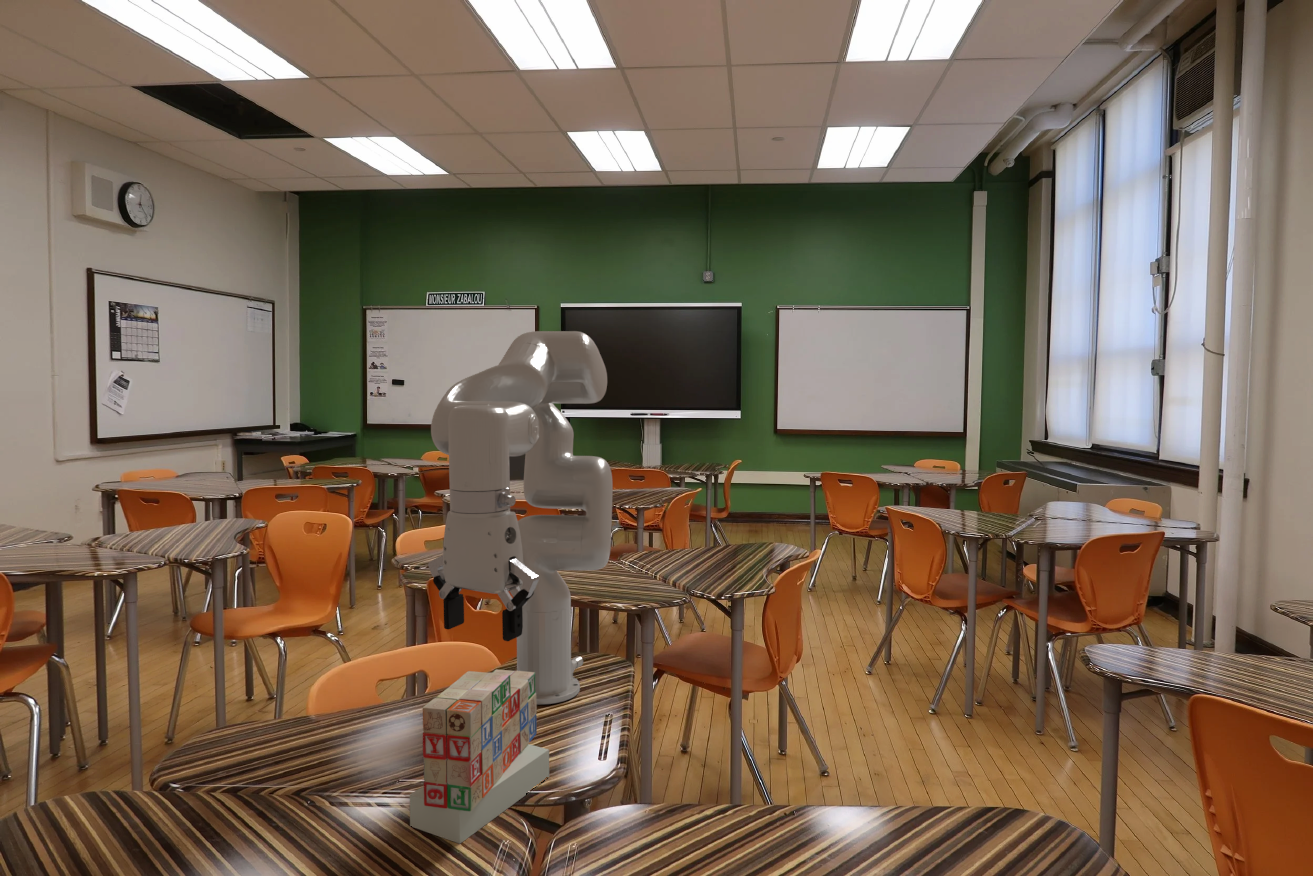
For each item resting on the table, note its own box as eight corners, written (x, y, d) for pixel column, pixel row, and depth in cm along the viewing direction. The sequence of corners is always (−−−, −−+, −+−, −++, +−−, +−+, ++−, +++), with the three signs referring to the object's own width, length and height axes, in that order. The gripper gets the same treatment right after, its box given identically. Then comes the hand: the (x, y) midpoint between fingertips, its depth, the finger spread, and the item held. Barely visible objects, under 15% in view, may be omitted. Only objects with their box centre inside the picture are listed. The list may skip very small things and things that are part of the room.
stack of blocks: (497, 730, 115) (496, 648, 114) (537, 735, 113) (536, 651, 112) (422, 806, 94) (421, 705, 93) (471, 812, 92) (470, 710, 92)
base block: (503, 764, 113) (503, 737, 112) (549, 777, 109) (549, 749, 109) (410, 826, 97) (409, 794, 96) (459, 843, 93) (459, 811, 93)
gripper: (552, 502, 100) (554, 634, 101) (449, 492, 108) (452, 614, 109) (516, 512, 93) (518, 652, 95) (408, 500, 101) (412, 630, 103)
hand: (482, 632), depth 102 cm, fingers open, 9 cm apart
